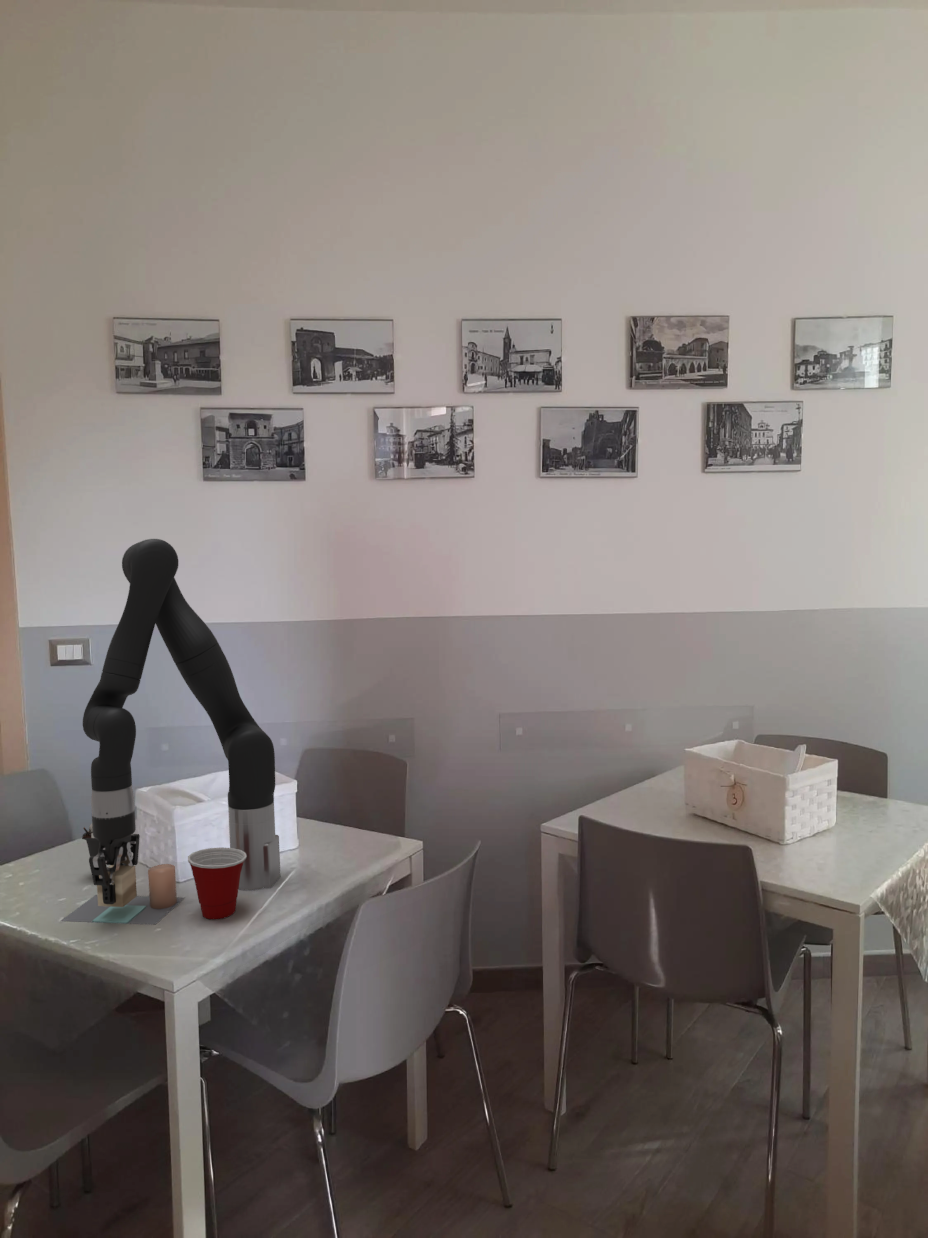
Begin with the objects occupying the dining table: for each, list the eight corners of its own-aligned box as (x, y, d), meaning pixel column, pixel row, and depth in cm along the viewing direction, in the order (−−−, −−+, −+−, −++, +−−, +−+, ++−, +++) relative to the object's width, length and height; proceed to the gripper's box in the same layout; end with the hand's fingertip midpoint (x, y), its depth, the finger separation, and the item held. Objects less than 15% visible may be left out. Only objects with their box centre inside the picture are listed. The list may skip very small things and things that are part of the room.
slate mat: (185, 900, 167) (184, 897, 167) (155, 927, 155) (155, 924, 155) (96, 897, 170) (96, 894, 170) (60, 924, 158) (60, 921, 158)
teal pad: (146, 907, 163) (146, 906, 163) (127, 923, 156) (127, 922, 156) (112, 906, 164) (112, 904, 164) (92, 922, 157) (92, 920, 157)
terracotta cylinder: (181, 898, 167) (179, 864, 166) (169, 909, 162) (167, 874, 161) (157, 897, 167) (155, 863, 167) (145, 908, 162) (143, 873, 162)
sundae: (125, 873, 182) (121, 806, 181) (108, 886, 175) (104, 816, 174) (96, 873, 183) (92, 806, 181) (79, 885, 176) (74, 815, 175)
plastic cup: (256, 919, 158) (253, 857, 157) (197, 933, 153) (194, 869, 152) (241, 899, 167) (238, 840, 166) (185, 911, 162) (182, 851, 161)
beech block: (136, 896, 162) (135, 866, 161) (122, 907, 157) (121, 876, 156) (112, 895, 163) (111, 865, 162) (98, 906, 158) (96, 875, 157)
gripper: (110, 823, 151) (115, 914, 152) (151, 799, 165) (155, 883, 166) (72, 822, 152) (77, 912, 153) (115, 798, 166) (119, 881, 167)
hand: (117, 897), depth 160 cm, fingers closed on beech block, 5 cm apart
